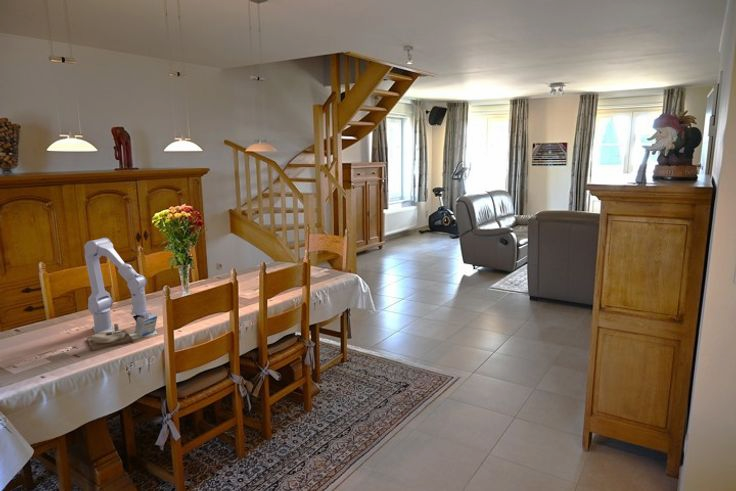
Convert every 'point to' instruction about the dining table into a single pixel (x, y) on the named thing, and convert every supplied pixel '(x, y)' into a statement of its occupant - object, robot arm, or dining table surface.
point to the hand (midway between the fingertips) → (141, 329)
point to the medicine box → (145, 325)
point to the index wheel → (109, 335)
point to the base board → (105, 345)
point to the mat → (135, 336)
